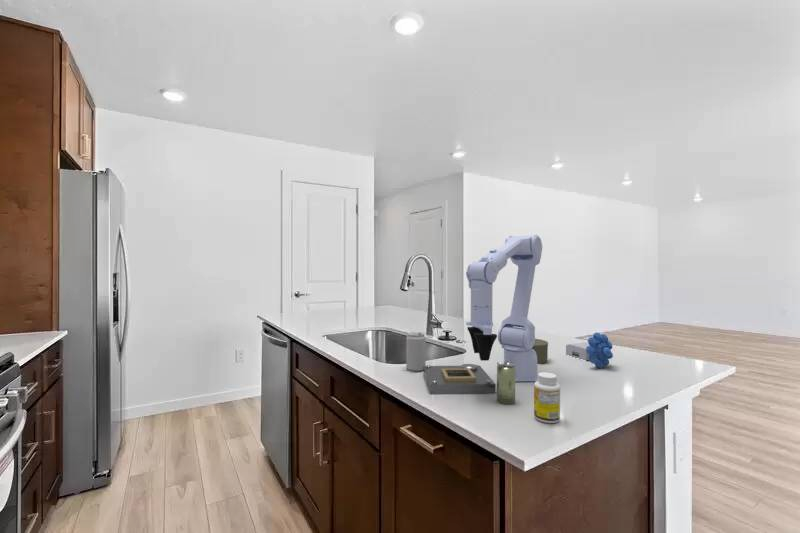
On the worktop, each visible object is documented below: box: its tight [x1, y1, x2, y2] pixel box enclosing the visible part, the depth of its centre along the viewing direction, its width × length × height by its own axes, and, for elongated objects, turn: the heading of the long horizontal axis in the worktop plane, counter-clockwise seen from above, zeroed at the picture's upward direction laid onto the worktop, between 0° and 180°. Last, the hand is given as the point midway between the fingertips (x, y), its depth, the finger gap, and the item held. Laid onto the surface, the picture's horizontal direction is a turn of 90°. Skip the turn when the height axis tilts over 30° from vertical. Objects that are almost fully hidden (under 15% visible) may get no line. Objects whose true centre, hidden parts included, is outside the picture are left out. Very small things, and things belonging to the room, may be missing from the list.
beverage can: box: [405, 331, 427, 372], centre depth 127 cm, size 6×6×12 cm
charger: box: [565, 341, 590, 361], centre depth 144 cm, size 5×9×15 cm
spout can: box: [496, 361, 517, 406], centre depth 99 cm, size 5×5×10 cm
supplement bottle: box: [533, 371, 561, 424], centre depth 88 cm, size 6×6×10 cm
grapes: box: [586, 332, 614, 369], centre depth 128 cm, size 12×7×12 cm, turn 114°
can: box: [531, 338, 549, 365], centre depth 138 cm, size 12×12×7 cm
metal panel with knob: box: [422, 363, 497, 395], centre depth 113 cm, size 18×18×4 cm
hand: (481, 356), depth 104 cm, fingers open, 7 cm apart
